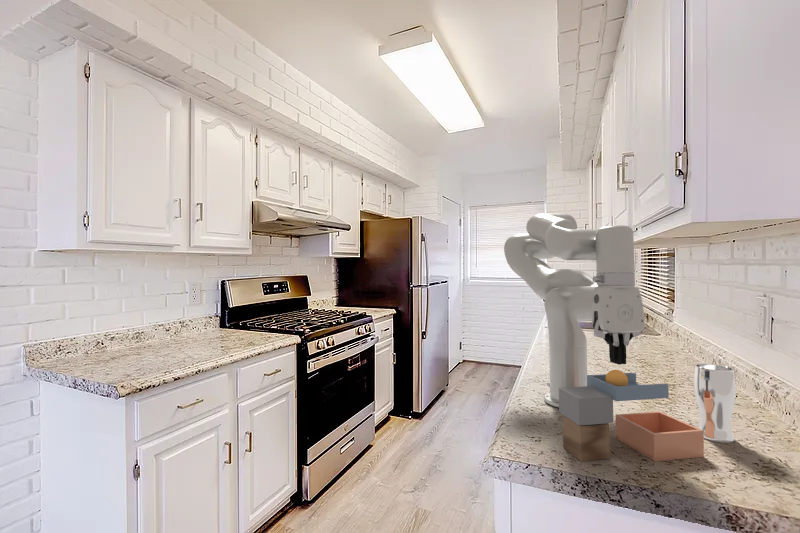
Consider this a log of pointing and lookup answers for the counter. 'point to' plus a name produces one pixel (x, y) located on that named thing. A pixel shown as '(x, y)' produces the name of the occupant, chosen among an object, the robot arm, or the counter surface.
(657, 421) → the shallow terracotta crate
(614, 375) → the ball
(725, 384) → the beer glass
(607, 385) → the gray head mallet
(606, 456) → the pedestal
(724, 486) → the counter surface
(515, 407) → the counter surface
